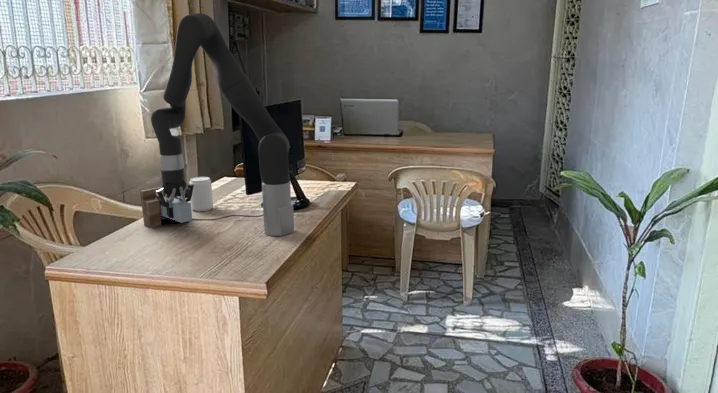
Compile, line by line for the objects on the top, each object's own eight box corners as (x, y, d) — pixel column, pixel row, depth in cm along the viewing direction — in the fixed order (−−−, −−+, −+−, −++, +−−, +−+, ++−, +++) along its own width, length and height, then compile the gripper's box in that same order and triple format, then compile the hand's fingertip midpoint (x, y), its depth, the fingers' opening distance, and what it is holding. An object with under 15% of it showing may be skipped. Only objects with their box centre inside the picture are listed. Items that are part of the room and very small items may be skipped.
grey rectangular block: (192, 220, 181) (190, 203, 180) (181, 222, 178) (180, 205, 177) (166, 211, 191) (165, 195, 190) (156, 214, 188) (154, 197, 187)
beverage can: (209, 211, 201) (207, 181, 198) (188, 212, 202) (185, 181, 198) (215, 206, 209) (213, 176, 206) (195, 206, 209) (192, 176, 206)
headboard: (185, 218, 193) (182, 186, 190) (150, 227, 183) (146, 193, 180) (176, 215, 197) (173, 184, 194) (141, 224, 187) (138, 191, 184)
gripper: (184, 162, 186) (189, 209, 191) (146, 169, 176) (152, 218, 180) (197, 165, 182) (201, 213, 186) (158, 172, 171) (164, 223, 176)
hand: (177, 215), depth 183 cm, fingers closed on grey rectangular block, 4 cm apart
